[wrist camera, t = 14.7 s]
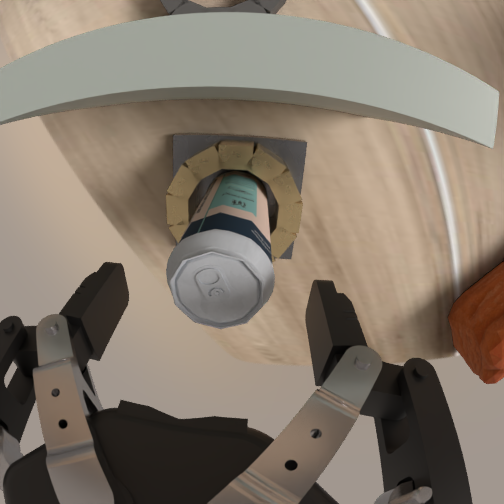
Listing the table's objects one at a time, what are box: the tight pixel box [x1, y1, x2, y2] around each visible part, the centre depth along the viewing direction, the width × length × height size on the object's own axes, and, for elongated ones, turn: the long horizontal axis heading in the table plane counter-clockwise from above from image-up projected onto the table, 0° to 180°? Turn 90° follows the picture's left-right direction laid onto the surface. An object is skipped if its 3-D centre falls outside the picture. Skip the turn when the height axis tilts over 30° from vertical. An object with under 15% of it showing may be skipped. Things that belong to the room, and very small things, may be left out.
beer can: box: [166, 171, 275, 329], centre depth 17 cm, size 5×5×12 cm
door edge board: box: [0, 12, 499, 149], centre depth 12 cm, size 2×22×14 cm, turn 86°
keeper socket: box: [166, 134, 307, 262], centre depth 21 cm, size 10×10×4 cm
